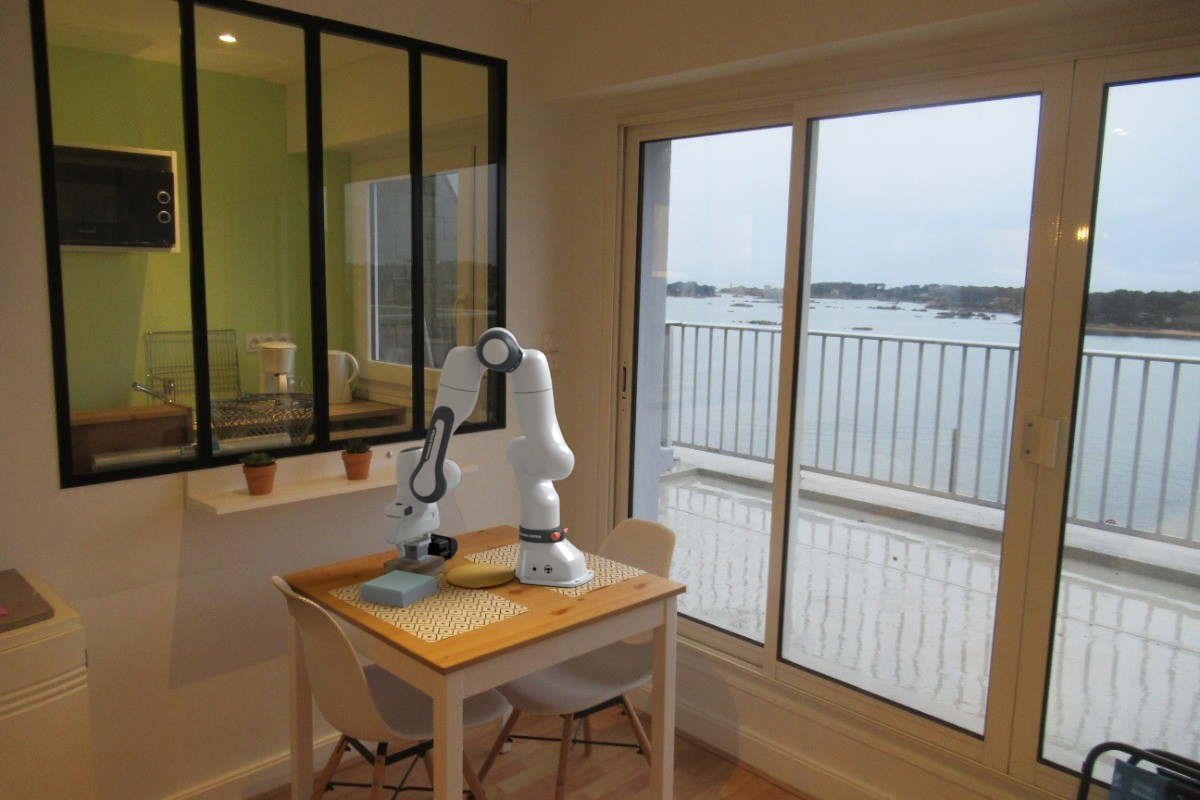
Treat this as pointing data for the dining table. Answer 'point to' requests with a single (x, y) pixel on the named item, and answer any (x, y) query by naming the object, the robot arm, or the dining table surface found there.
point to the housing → (416, 550)
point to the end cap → (442, 546)
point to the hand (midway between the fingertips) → (413, 551)
